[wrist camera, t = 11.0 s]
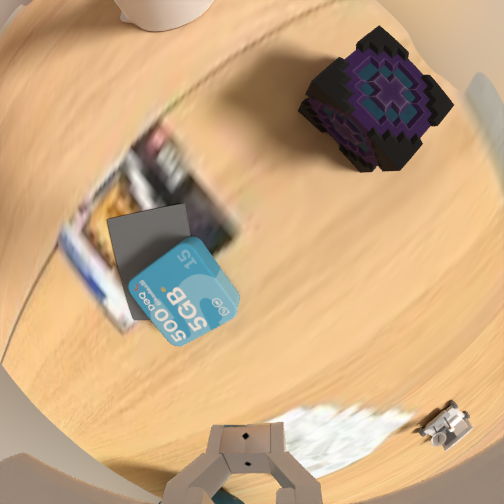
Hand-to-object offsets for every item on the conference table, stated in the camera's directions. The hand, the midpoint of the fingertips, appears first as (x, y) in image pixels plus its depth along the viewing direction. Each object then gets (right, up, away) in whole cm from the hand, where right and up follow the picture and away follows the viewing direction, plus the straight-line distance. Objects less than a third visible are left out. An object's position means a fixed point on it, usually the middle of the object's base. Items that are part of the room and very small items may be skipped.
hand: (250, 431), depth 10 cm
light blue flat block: (-4, +5, +26) cm, 27 cm away
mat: (-14, +5, +29) cm, 33 cm away
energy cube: (+15, +27, +23) cm, 38 cm away
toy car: (+50, -37, +38) cm, 73 cm away
